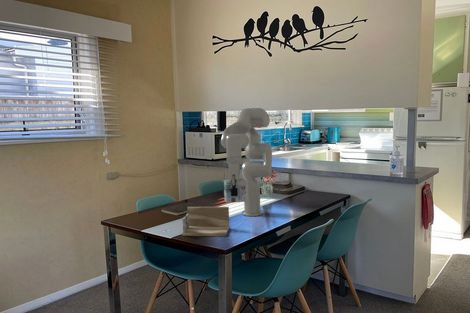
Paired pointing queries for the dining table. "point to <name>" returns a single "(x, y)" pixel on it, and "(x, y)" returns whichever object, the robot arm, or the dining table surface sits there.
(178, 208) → the hardcover book
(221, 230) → the shelf
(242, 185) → the light bulb box
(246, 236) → the dining table surface
